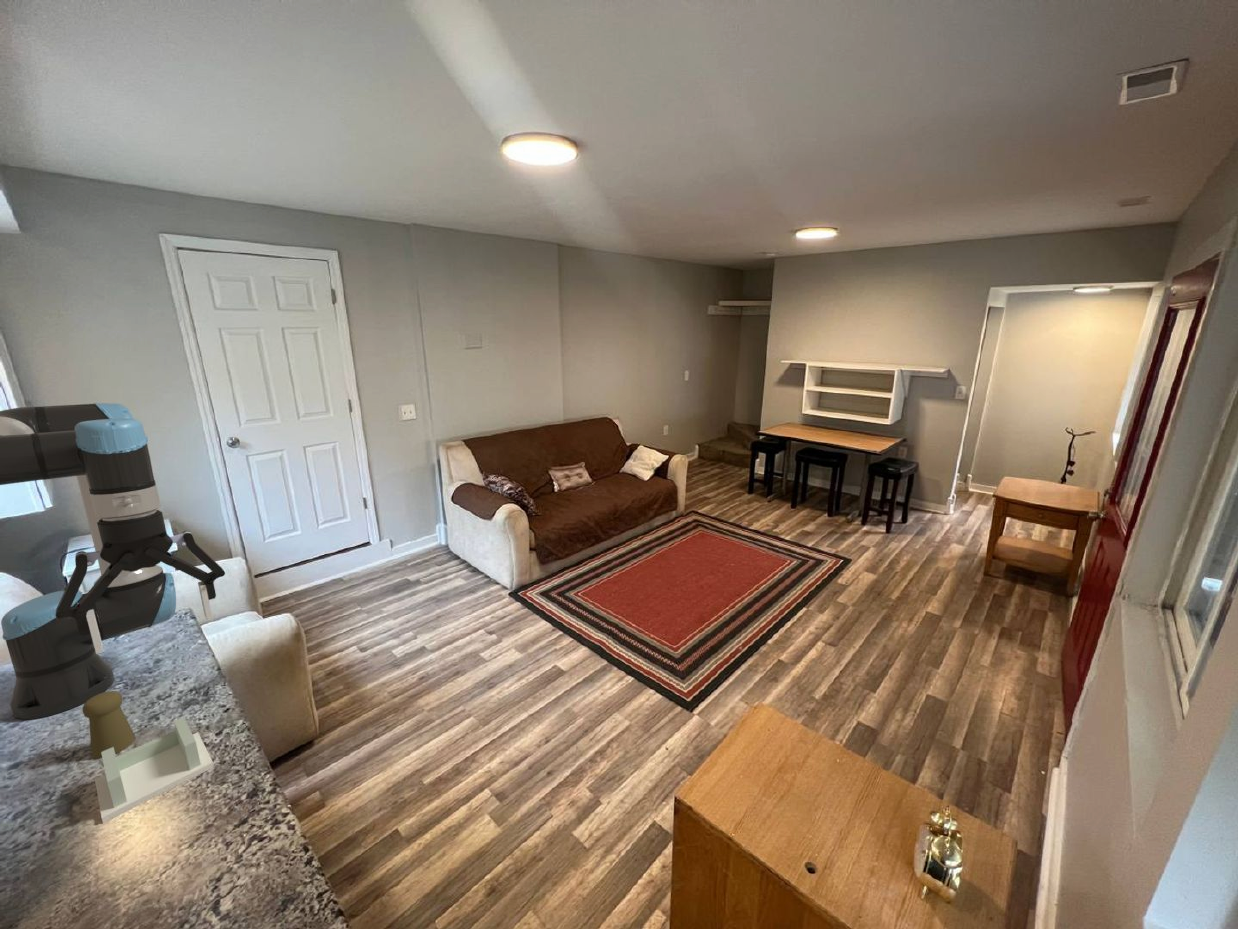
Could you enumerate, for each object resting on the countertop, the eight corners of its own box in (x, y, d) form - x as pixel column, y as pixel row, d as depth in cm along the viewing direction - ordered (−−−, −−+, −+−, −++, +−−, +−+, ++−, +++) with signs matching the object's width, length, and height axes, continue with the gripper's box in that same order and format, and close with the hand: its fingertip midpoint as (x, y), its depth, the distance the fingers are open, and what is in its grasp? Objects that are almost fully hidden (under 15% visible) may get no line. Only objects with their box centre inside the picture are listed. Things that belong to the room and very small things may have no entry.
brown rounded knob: (106, 761, 89) (92, 709, 87) (82, 756, 90) (68, 705, 88) (144, 736, 95) (131, 688, 93) (120, 732, 96) (108, 684, 94)
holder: (96, 783, 84) (88, 754, 83) (199, 736, 95) (193, 710, 93) (103, 823, 77) (94, 792, 75) (213, 767, 87) (207, 738, 86)
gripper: (4, 540, 66) (43, 676, 70) (231, 501, 84) (251, 611, 88) (10, 528, 71) (46, 656, 75) (223, 494, 89) (242, 599, 93)
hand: (157, 632), depth 82 cm, fingers open, 13 cm apart
